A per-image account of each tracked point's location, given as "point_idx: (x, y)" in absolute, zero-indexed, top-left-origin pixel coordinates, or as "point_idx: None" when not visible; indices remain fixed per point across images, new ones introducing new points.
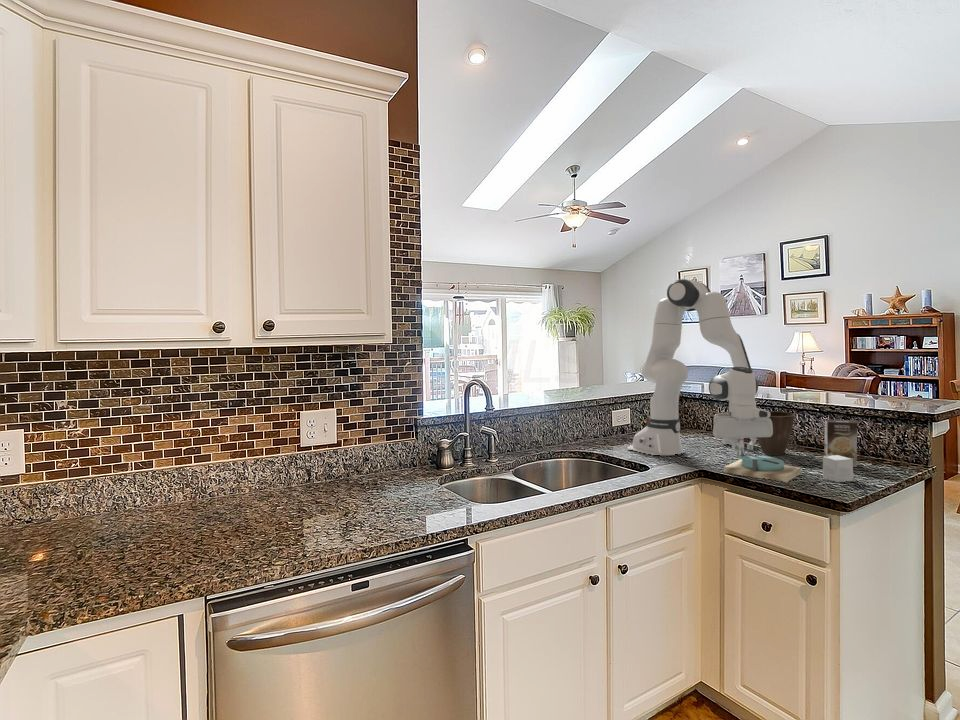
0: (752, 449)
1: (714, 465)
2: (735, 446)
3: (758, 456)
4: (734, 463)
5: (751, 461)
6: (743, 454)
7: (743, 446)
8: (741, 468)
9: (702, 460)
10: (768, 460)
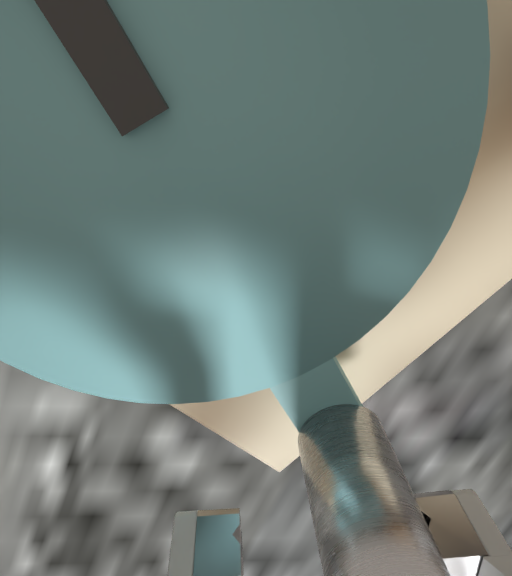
0: (184, 511)
1: (509, 406)
2: (476, 538)
3: (138, 381)
4: (433, 313)
5: (382, 66)
6: (327, 424)
7: (358, 529)
8: (500, 50)
9: (503, 532)
10: (70, 55)
